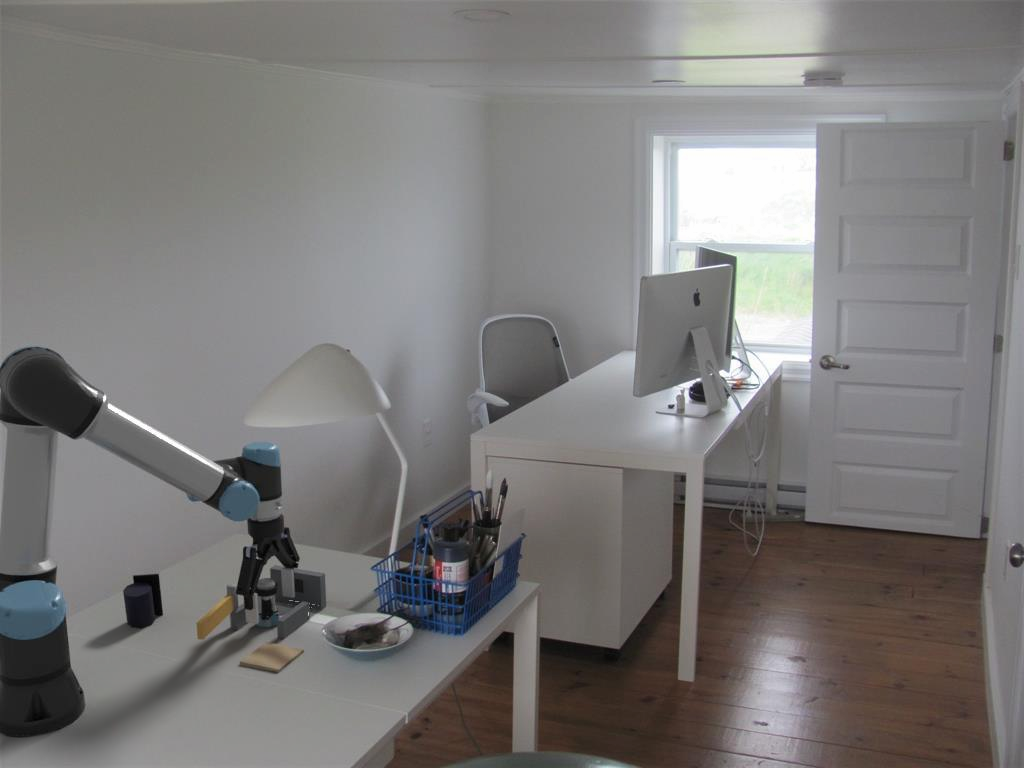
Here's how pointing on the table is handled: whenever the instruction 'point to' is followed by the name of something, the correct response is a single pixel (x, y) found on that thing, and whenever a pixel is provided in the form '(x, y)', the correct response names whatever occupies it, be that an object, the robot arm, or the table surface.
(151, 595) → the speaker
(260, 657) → the cork mat
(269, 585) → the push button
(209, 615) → the wooden plank
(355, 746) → the table surface
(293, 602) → the cradle
